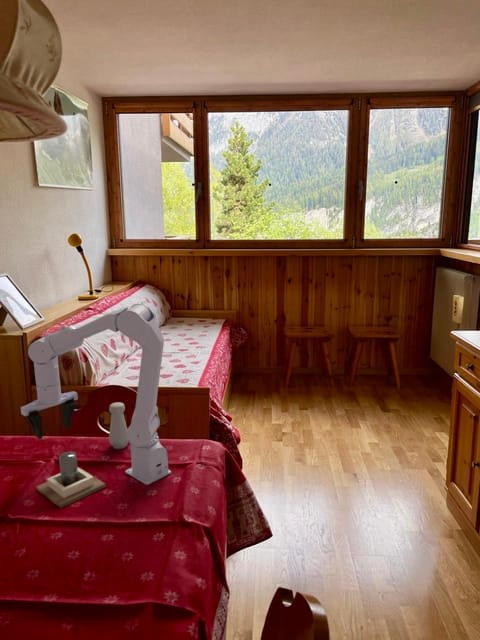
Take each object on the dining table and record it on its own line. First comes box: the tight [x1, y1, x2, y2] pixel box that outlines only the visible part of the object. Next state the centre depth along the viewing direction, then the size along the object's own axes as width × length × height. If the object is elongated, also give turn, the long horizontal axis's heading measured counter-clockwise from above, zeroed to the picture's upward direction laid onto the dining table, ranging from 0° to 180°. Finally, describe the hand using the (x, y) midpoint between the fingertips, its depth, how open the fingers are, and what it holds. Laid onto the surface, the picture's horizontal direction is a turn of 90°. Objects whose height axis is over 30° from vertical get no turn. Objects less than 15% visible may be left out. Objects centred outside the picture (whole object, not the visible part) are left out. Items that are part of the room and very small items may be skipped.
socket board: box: [36, 466, 106, 509], centre depth 124 cm, size 12×12×3 cm
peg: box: [58, 451, 79, 487], centre depth 123 cm, size 4×4×8 cm
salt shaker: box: [108, 401, 129, 450], centre depth 145 cm, size 6×6×13 cm
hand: (53, 432), depth 131 cm, fingers open, 7 cm apart
